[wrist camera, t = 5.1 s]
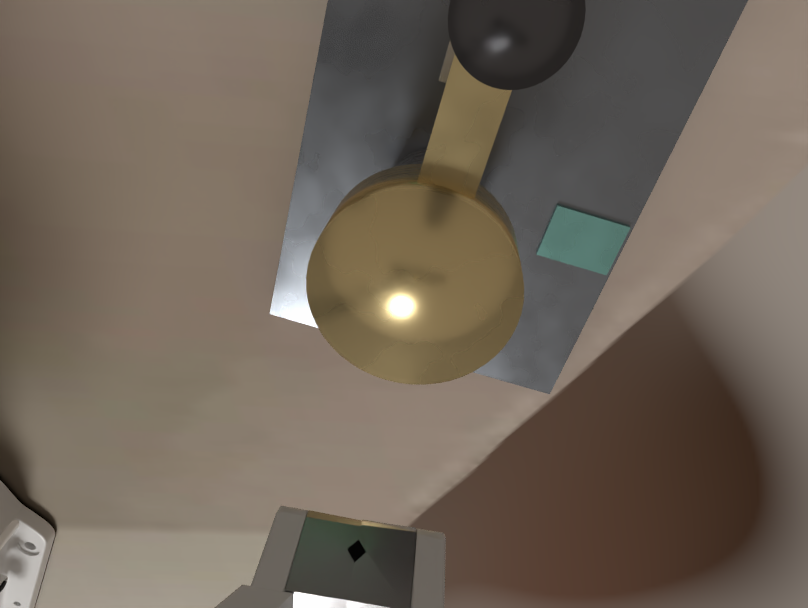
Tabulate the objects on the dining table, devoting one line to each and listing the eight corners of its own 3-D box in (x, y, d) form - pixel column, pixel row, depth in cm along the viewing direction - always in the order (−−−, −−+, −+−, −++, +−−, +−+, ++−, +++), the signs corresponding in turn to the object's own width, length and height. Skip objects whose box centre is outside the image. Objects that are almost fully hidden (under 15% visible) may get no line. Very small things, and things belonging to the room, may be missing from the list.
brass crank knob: (480, 362, 23) (483, 492, 17) (308, 313, 23) (251, 428, 17) (633, -6, 17) (722, 0, 11) (396, -82, 16) (354, -118, 11)
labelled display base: (547, 381, 34) (568, 492, 26) (276, 303, 33) (220, 394, 26) (761, -53, 23) (896, -69, 16) (368, -181, 22) (317, -260, 15)
